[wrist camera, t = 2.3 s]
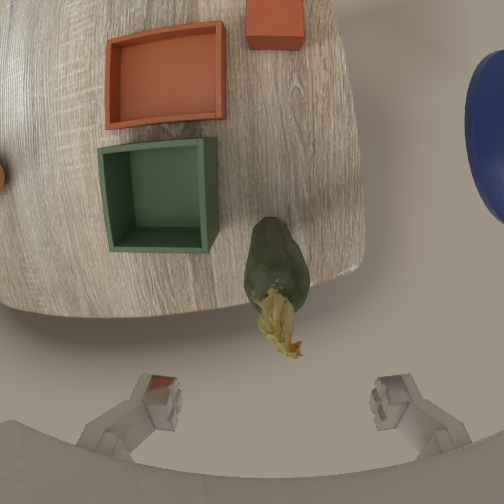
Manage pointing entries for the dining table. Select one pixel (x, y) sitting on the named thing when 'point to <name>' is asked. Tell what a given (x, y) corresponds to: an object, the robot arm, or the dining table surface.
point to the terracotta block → (274, 24)
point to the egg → (1, 177)
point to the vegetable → (276, 282)
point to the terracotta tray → (166, 76)
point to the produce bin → (160, 195)
